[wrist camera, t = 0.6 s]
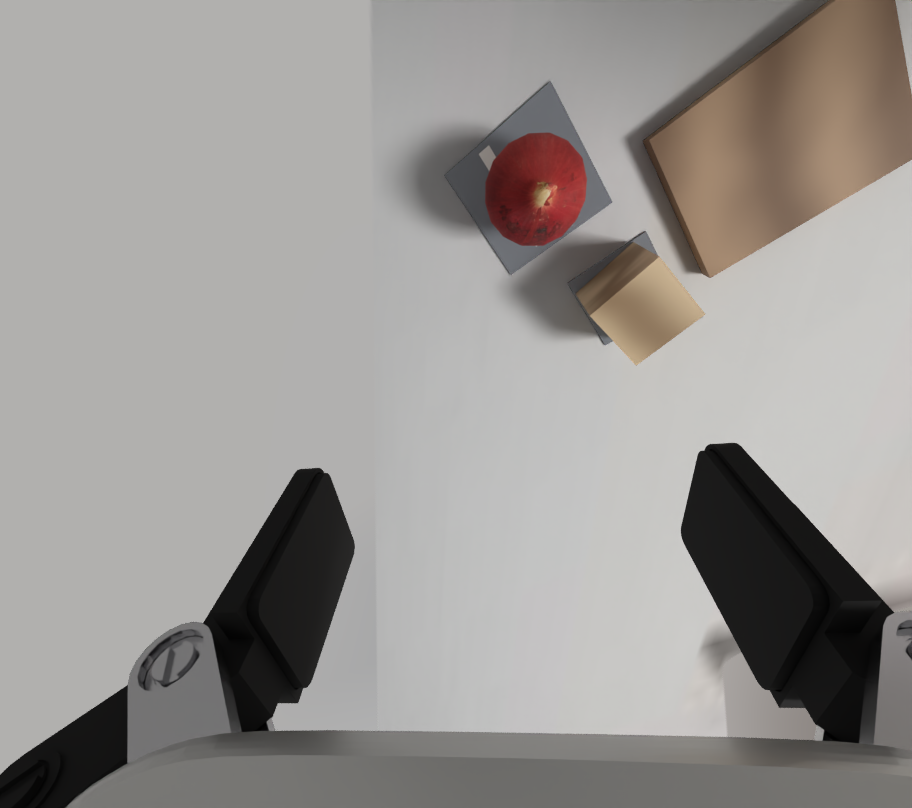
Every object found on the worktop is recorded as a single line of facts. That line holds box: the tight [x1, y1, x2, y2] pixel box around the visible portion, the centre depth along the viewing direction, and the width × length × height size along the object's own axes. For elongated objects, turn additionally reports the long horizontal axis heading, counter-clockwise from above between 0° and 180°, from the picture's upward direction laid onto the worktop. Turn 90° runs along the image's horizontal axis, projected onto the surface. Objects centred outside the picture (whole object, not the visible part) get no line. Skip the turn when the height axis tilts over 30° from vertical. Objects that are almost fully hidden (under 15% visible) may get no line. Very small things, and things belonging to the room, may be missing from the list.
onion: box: [485, 132, 587, 246], centre depth 23 cm, size 6×6×8 cm
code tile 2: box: [567, 231, 658, 345], centre depth 30 cm, size 6×6×1 cm
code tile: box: [444, 81, 612, 275], centre depth 27 cm, size 8×8×1 cm
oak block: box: [576, 242, 705, 365], centre depth 27 cm, size 5×5×5 cm
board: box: [643, 0, 912, 278], centre depth 24 cm, size 12×10×1 cm
